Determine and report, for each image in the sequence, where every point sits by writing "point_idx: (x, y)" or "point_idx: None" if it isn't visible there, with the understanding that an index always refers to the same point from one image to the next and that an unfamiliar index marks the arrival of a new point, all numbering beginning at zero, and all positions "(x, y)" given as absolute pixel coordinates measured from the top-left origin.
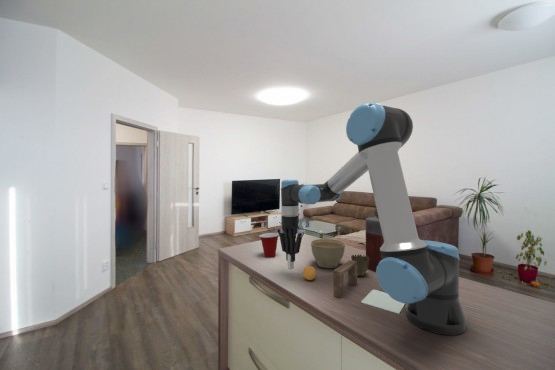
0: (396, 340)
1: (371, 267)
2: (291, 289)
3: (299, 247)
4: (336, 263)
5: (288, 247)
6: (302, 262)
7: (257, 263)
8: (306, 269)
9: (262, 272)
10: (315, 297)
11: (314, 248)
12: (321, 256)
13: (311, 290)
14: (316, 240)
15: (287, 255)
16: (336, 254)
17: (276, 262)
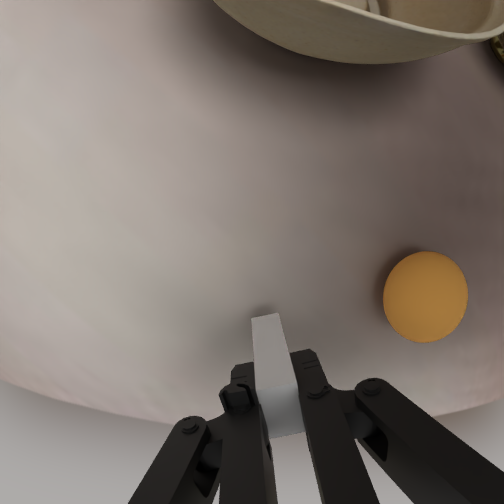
0: None
1: None
2: None
3: (425, 422)
4: (403, 6)
5: (273, 480)
6: (143, 88)
7: (11, 339)
8: (438, 339)
9: (135, 408)
10: (489, 372)
11: (337, 28)
12: (399, 62)
13: (463, 354)
14: None
15: (270, 430)
16: (474, 8)
17: (36, 245)
